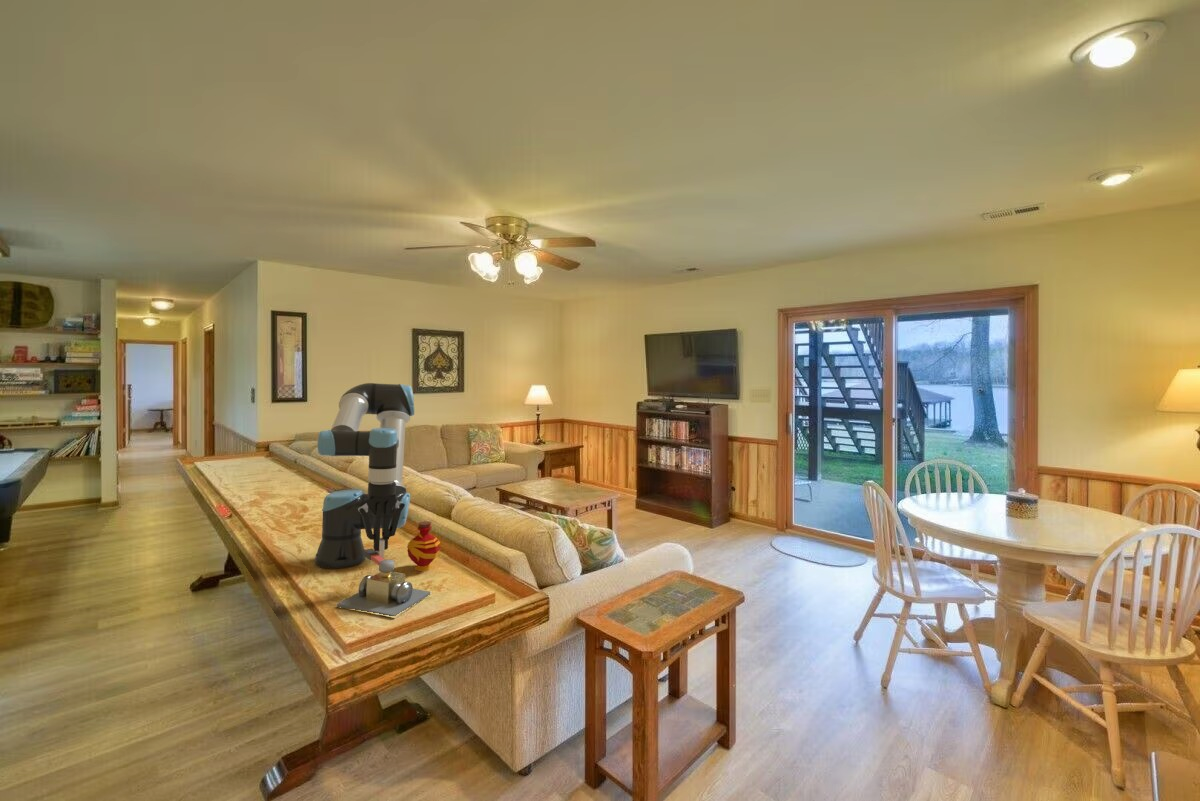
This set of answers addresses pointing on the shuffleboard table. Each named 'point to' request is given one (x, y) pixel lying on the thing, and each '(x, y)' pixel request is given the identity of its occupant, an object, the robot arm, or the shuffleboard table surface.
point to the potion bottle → (423, 547)
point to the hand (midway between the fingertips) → (380, 560)
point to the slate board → (390, 609)
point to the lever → (379, 560)
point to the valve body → (386, 588)
